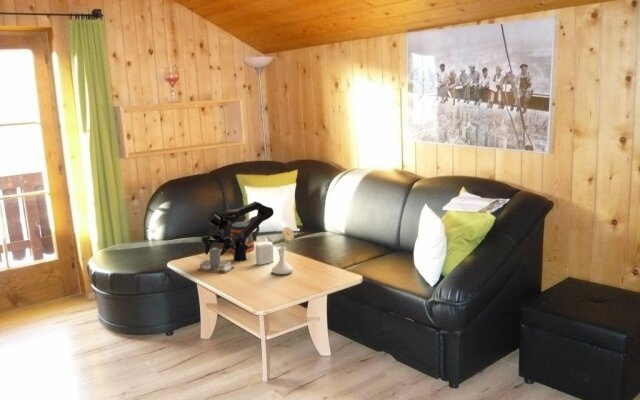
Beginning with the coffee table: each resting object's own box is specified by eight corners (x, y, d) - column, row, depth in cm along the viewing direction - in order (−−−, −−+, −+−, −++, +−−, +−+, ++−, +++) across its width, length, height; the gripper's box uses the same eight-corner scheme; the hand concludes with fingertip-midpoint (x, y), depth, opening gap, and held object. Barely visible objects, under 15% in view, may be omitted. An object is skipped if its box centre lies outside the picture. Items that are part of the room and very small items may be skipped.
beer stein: (254, 243, 377) (252, 213, 373) (264, 249, 365) (263, 217, 361) (226, 248, 368) (224, 217, 364) (235, 254, 355) (234, 222, 351)
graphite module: (214, 266, 331) (213, 247, 328) (220, 267, 329) (219, 247, 327) (210, 268, 327) (209, 249, 325) (217, 269, 326) (215, 249, 323)
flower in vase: (276, 277, 312) (274, 231, 307) (268, 271, 322) (266, 227, 317) (299, 273, 318) (297, 228, 313) (290, 267, 328) (288, 223, 323)
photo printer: (271, 260, 342) (270, 239, 339) (274, 262, 338) (273, 241, 336) (255, 264, 336) (254, 242, 334) (258, 265, 333) (257, 244, 330)
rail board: (196, 271, 327) (196, 263, 326) (206, 265, 336) (205, 258, 335) (225, 273, 321) (225, 266, 320) (234, 268, 330) (234, 261, 329)
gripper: (201, 222, 330) (192, 246, 322) (231, 224, 324) (222, 249, 316) (209, 232, 339) (200, 256, 331) (238, 234, 332) (230, 259, 325)
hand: (213, 255), depth 325 cm, fingers open, 9 cm apart
